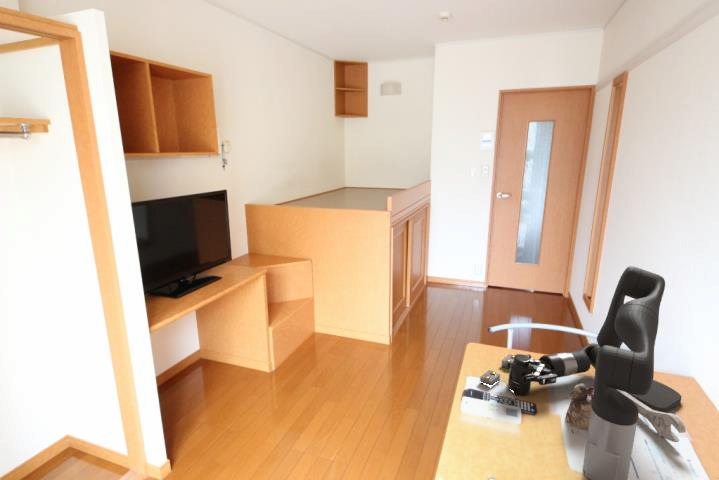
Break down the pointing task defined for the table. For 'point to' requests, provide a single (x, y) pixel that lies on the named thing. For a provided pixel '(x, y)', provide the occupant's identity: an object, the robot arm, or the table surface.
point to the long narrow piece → (492, 376)
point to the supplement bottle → (519, 375)
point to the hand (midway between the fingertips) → (514, 372)
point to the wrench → (659, 420)
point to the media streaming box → (659, 397)
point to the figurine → (580, 407)
